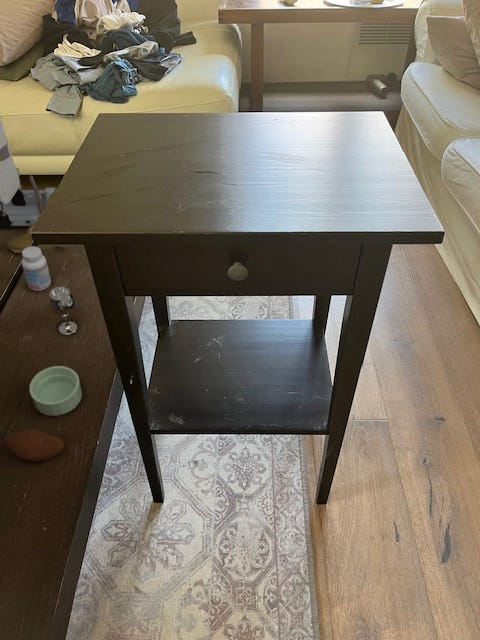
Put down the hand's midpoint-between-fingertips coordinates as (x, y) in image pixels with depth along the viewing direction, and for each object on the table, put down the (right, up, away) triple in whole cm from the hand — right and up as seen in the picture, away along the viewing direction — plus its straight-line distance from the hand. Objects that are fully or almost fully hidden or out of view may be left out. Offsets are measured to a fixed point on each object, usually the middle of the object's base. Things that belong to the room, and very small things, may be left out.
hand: (12, 216), depth 121 cm
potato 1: (-4, -4, +21) cm, 22 cm away
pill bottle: (+1, -16, +15) cm, 22 cm away
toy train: (-9, +7, +26) cm, 28 cm away
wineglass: (+12, -27, +5) cm, 30 cm away
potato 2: (+14, -53, -19) cm, 58 cm away
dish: (+15, -43, -10) cm, 46 cm away
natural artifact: (+2, +9, +22) cm, 24 cm away
